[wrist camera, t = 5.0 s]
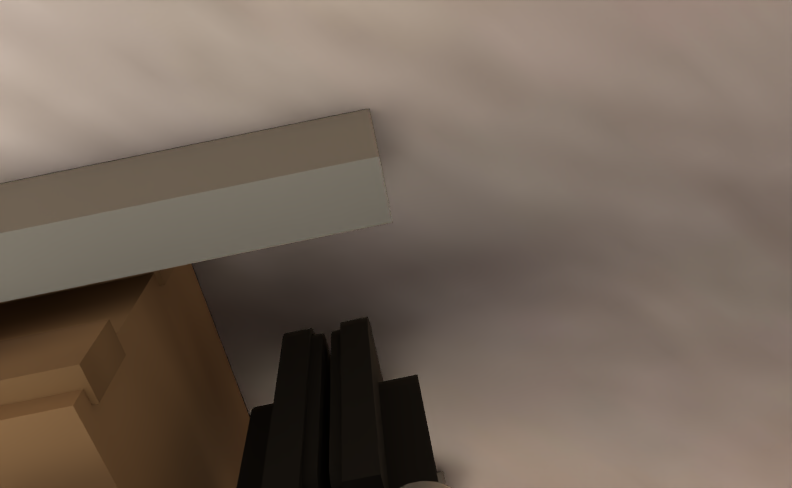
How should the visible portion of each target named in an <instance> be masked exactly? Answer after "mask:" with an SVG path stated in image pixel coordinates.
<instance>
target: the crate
mask: <svg viewBox="0 0 792 488" xmlns="http://www.w3.org/2000/svg"><path fill="white" fill-rule="evenodd" d="M249 420H250V417H249V414H248V412H247V409H246V407H245V404H244V401H243V399H242V396H241V393H240V391H239V388H238V385H237V383H236V380H235V378H234V375H233V372H232V370H231V367H230V364H229V362H228V359H227V357H226V354H225V351H224V349H223V346H222V343H221V341H220V338H219V336H218V333H217V330H216V328H215V325H214V322H213V320H212V317H211V315H210V312H209V309H208V307H207V304H206V301H205V299H204V296H203V293H202V291H201V288H200V286H199V283H198V280H197V278H196V275H195V272H194V270H193V267H192V265H191V264H187V265H182V266H177V267H172V268H167V269H162V270H157V271H152V272H147V273H143V274H138V275H133V276H128V277H123V278H118V279H113V280H108V281H103V282H98V283H93V284H88V285H84V286H79V287H74V288H69V289H64V290H59V291H54V292H49V293H44V294H39V295H34V296H30V297H25V298H20V299H15V300H10V301H5V302H0V488H236V487H237V482H238V477H239V472H240V467H241V461H242V456H243V451H244V446H245V441H246V436H247V430H248V425H249Z"/></svg>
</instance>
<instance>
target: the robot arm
mask: <svg viewBox="0 0 792 488" xmlns="http://www.w3.org/2000/svg"><path fill="white" fill-rule="evenodd" d="M236 488H451V487H450V486H447V485H444V484H441V483H439V481H438V476H437V471H436V466H435V461H434V456H433V451H432V446H431V441H430V436H429V431H428V426H427V421H426V416H425V411H424V406H423V401H422V396H421V391H420V386H419V381H418V376H417V375H413V376H408V377H403V378H398V379H393V380H388V381H383V378H382V374H381V370H380V365H379V361H378V357H377V353H376V348H375V344H374V340H373V335H372V331H371V327H370V323H369V319H368V317H365V318H360V319H355V320H350V321H345V322H341V324H340V330H337V331H332V332H331V355H330V352H329V348H328V344H327V341H326V338H325V335H324V334H323V333H322V334H317V335H315V333H314V331H313V329H312V328H310V329H305V330H300V331H295V332H290V333H285V334H284V336H283V341H282V348H281V355H280V362H279V369H278V375H277V382H276V389H275V396H274V403H273V404H269V405H264V406H259V407H255V408H254V409H253V410H252V412H251V415H250V420H249V425H248V430H247V436H246V441H245V446H244V451H243V456H242V461H241V467H240V472H239V477H238V482H237V487H236Z"/></svg>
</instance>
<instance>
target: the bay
mask: <svg viewBox="0 0 792 488" xmlns="http://www.w3.org/2000/svg"><path fill="white" fill-rule="evenodd" d="M388 223H393V221H392V216H391V211H390V207H389V202H388V197H387V192H386V187H385V182H384V177H383V172H382V167H381V162H380V157H379V152H378V148H377V143H376V138H375V133H374V128H373V124H372V119H371V114H370V109H365V110H361V111H356V112H351V113H346V114H341V115H336V116H331V117H326V118H321V119H316V120H311V121H306V122H302V123H297V124H292V125H287V126H282V127H277V128H272V129H267V130H262V131H257V132H252V133H248V134H243V135H238V136H233V137H228V138H223V139H218V140H213V141H208V142H203V143H198V144H193V145H189V146H184V147H179V148H174V149H169V150H164V151H159V152H154V153H149V154H144V155H139V156H135V157H130V158H125V159H120V160H115V161H110V162H105V163H100V164H95V165H90V166H85V167H81V168H76V169H71V170H66V171H61V172H56V173H51V174H46V175H41V176H36V177H31V178H26V179H22V180H17V181H12V182H7V183H2V184H0V302H5V301H10V300H15V299H20V298H25V297H30V296H34V295H39V294H44V293H49V292H54V291H59V290H64V289H69V288H74V287H79V286H84V285H88V284H93V283H98V282H103V281H108V280H113V279H118V278H123V277H128V276H133V275H138V274H143V273H147V272H152V271H157V270H162V269H167V268H172V267H177V266H182V265H187V264H192V263H197V262H201V261H206V260H211V259H216V258H221V257H226V256H231V255H236V254H241V253H246V252H251V251H256V250H260V249H265V248H270V247H275V246H280V245H285V244H290V243H295V242H300V241H305V240H310V239H314V238H319V237H324V236H329V235H334V234H339V233H344V232H349V231H354V230H359V229H364V228H369V227H373V226H378V225H383V224H388ZM437 476H438V481H439V483H441V484H444V485H446V484H445V479H444V474H443V472H438V473H437Z"/></svg>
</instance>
